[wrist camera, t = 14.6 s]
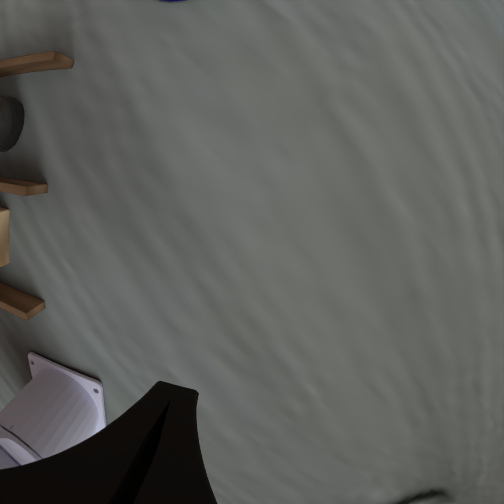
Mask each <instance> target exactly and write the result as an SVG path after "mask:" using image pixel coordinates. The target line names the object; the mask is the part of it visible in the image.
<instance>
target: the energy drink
mask: <svg viewBox="0 0 504 504" xmlns="http://www.w3.org/2000/svg"><path fill="white" fill-rule="evenodd" d="M161 1H165V2H181V1H186V0H161Z"/></svg>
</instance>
